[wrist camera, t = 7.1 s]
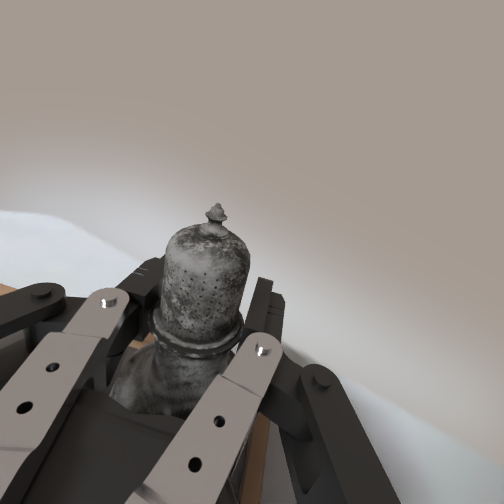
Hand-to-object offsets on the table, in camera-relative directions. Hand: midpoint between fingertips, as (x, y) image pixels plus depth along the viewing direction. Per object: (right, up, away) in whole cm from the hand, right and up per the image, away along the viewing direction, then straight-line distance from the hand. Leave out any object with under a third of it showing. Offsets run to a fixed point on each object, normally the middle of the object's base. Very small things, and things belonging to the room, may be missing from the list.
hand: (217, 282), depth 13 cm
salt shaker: (-2, -8, +1) cm, 8 cm away
